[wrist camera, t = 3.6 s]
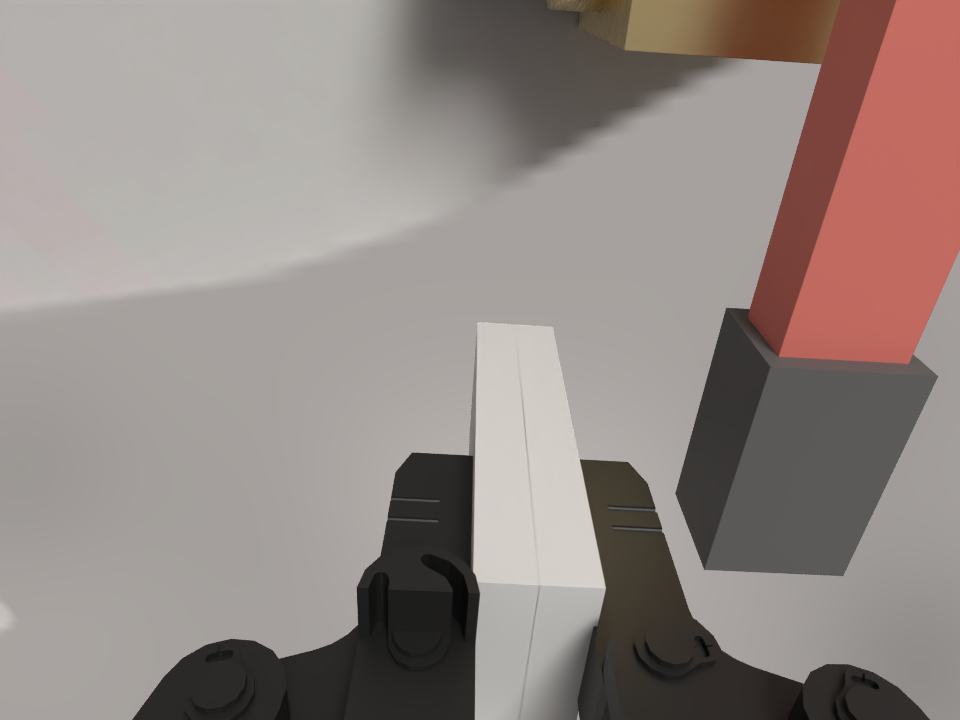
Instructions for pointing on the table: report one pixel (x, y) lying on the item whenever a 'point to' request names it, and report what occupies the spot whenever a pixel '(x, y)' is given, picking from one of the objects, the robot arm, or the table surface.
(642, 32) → the valve body
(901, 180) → the lever
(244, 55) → the table surface
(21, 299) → the table surface
